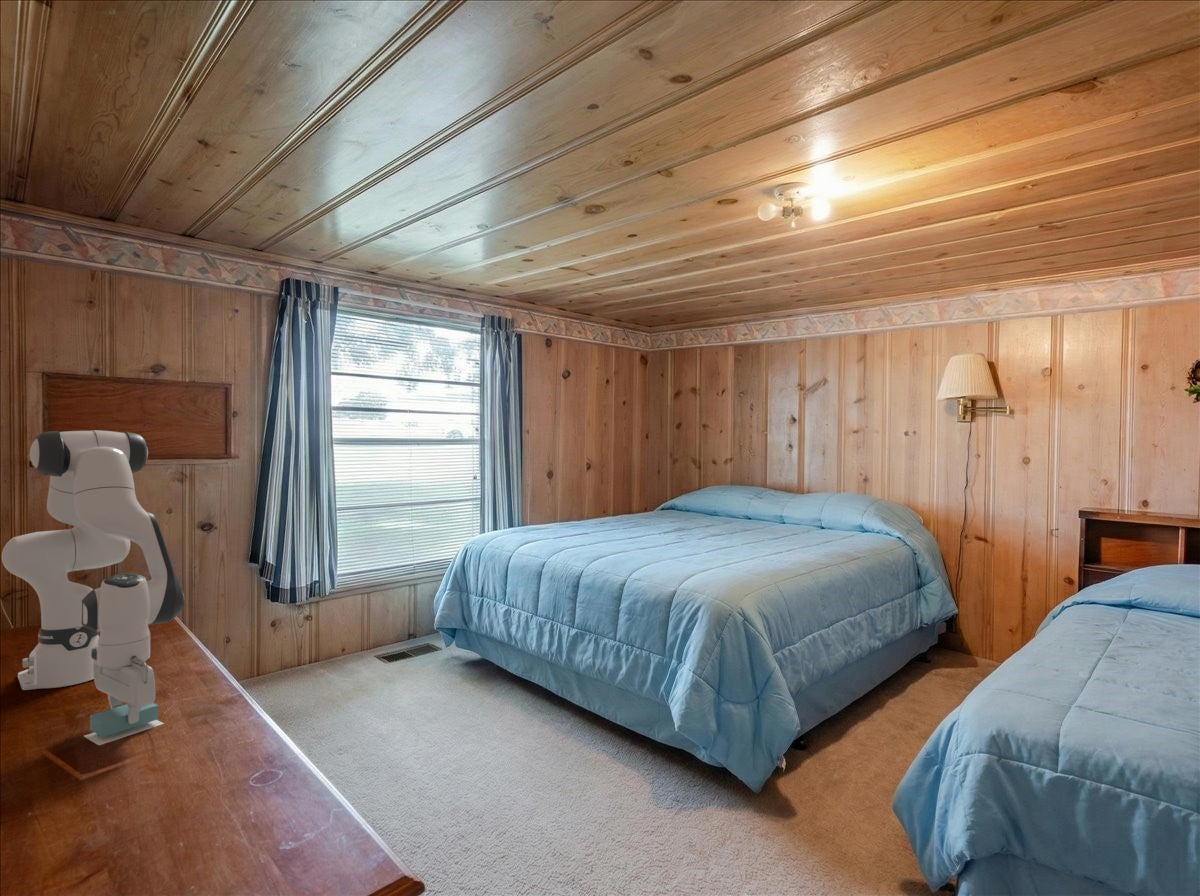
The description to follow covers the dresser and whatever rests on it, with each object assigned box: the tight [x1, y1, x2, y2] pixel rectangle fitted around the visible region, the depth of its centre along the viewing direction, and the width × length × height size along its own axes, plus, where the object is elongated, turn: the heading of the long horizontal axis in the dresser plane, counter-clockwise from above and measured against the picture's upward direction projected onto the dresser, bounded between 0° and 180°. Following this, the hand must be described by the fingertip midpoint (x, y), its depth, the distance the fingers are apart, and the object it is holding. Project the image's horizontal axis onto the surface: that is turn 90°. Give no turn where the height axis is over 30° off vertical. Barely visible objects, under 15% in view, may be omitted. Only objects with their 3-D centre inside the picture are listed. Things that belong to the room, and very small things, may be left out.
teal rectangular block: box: [89, 702, 159, 737], centre depth 132 cm, size 10×6×3 cm, turn 148°
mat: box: [83, 719, 165, 746], centre depth 136 cm, size 17×18×1 cm
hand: (124, 718), depth 132 cm, fingers closed on teal rectangular block, 6 cm apart
